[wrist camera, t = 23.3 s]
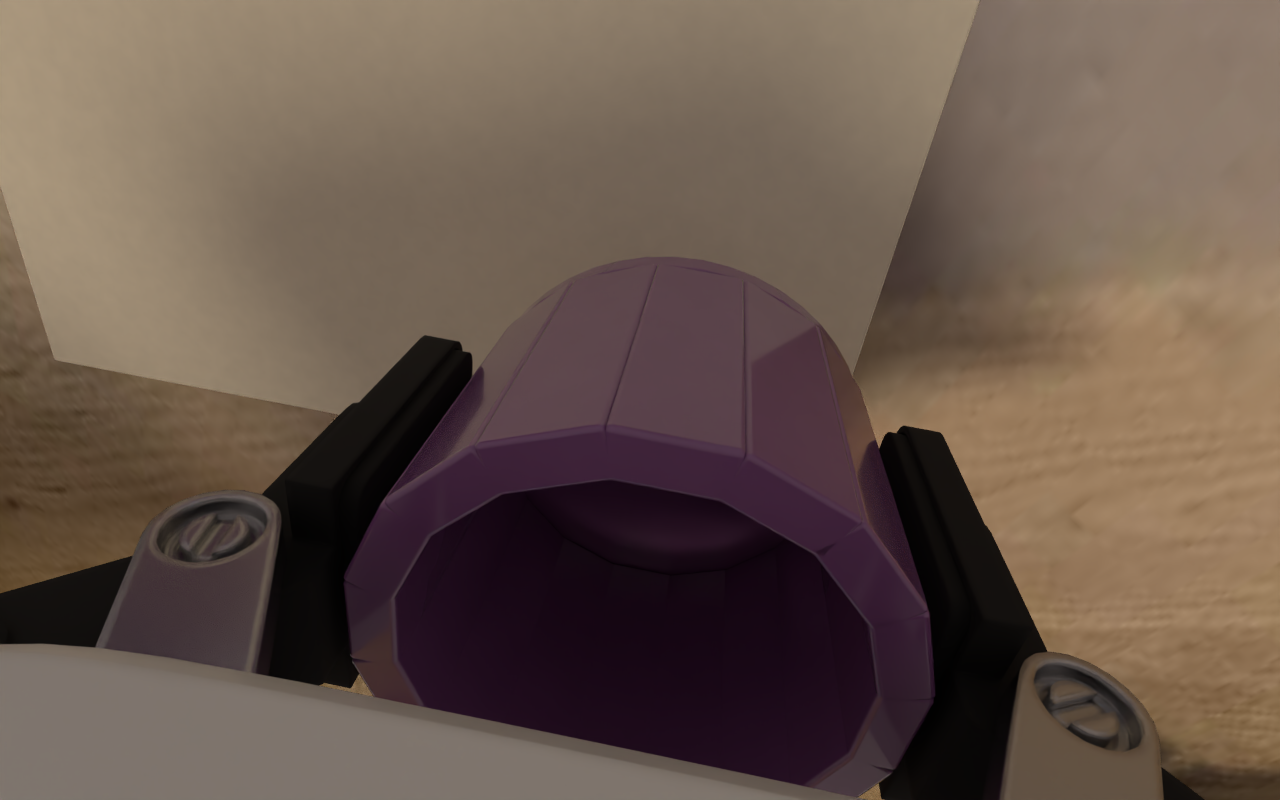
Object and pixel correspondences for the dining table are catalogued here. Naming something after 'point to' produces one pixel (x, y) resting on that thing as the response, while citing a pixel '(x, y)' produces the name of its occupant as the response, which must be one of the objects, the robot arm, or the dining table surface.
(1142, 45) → the dining table surface
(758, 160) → the placemat
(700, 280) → the purple hollow cylinder
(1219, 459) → the dining table surface
